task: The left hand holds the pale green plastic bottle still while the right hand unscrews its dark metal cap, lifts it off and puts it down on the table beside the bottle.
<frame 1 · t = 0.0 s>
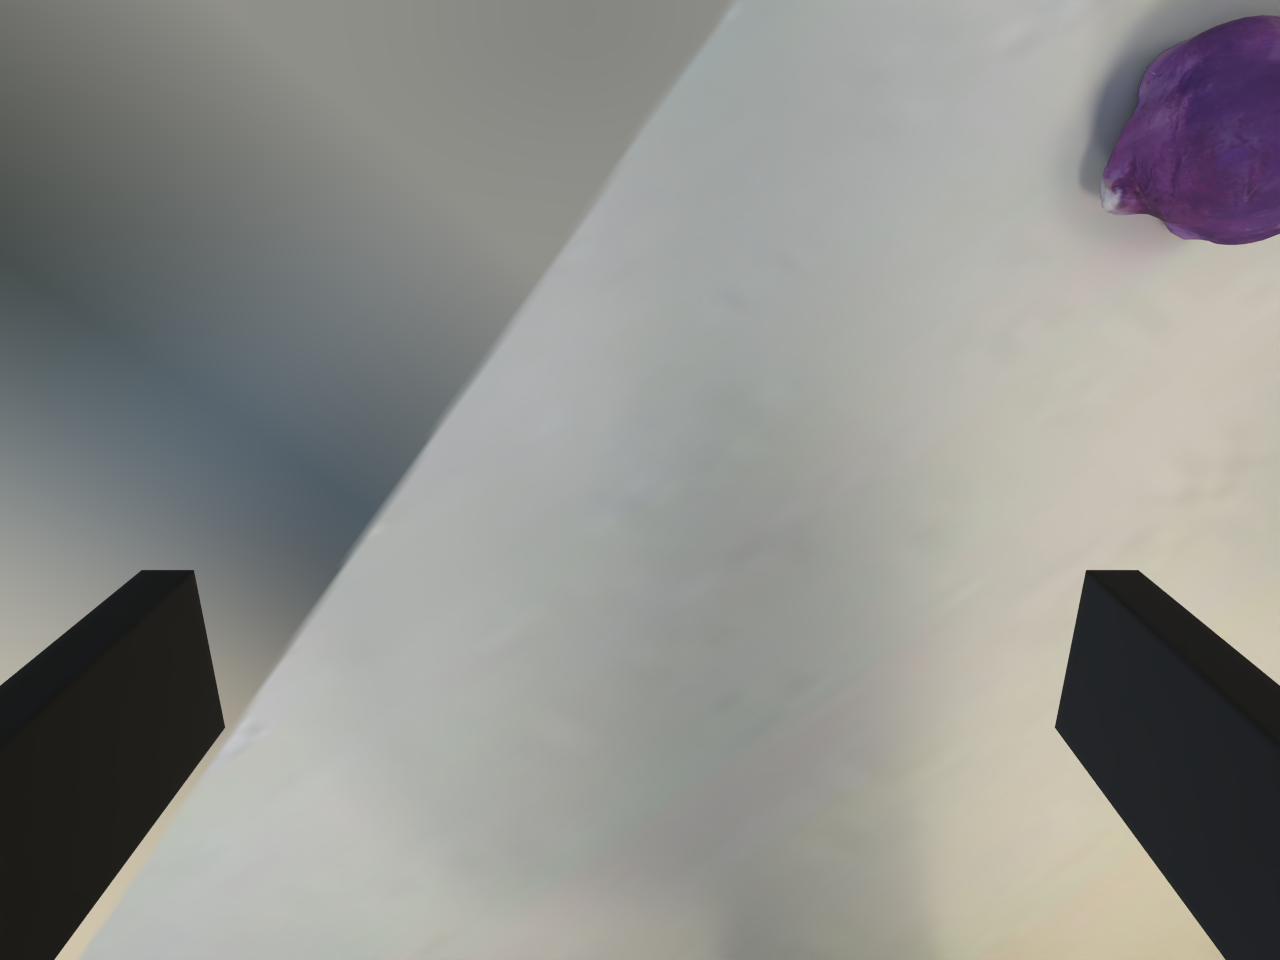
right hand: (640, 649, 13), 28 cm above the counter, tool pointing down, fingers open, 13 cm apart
figurine: (1219, 113, 36), on the counter
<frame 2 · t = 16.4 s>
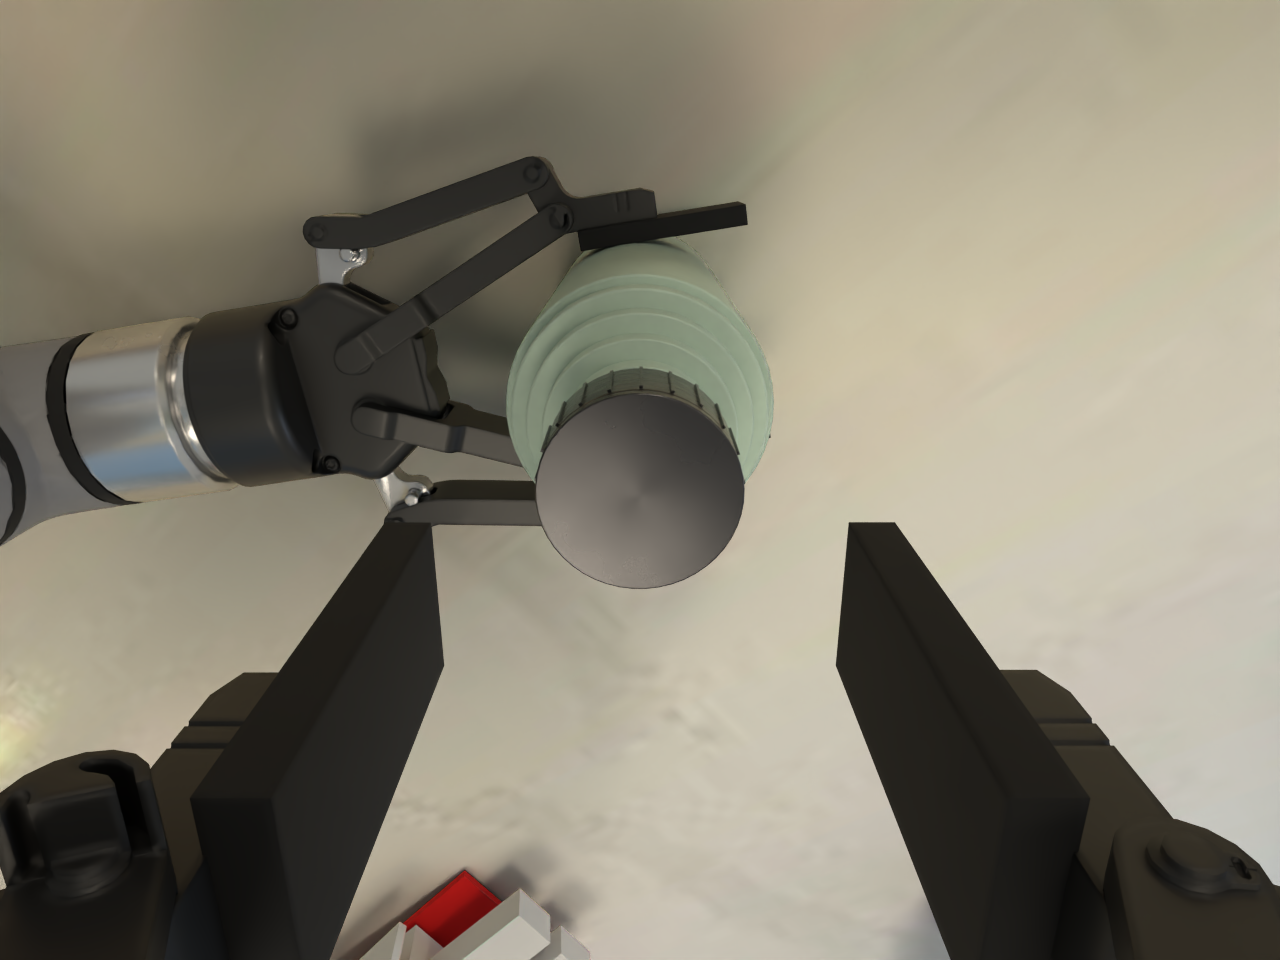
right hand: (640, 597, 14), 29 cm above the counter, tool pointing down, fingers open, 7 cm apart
left hand: (753, 320, 36), fingers closed on bottle, 8 cm apart
bottle: (639, 313, 42), on the counter, touching left hand
cap: (639, 490, 19), point 24 cm above the counter, screwed on, not yet turned
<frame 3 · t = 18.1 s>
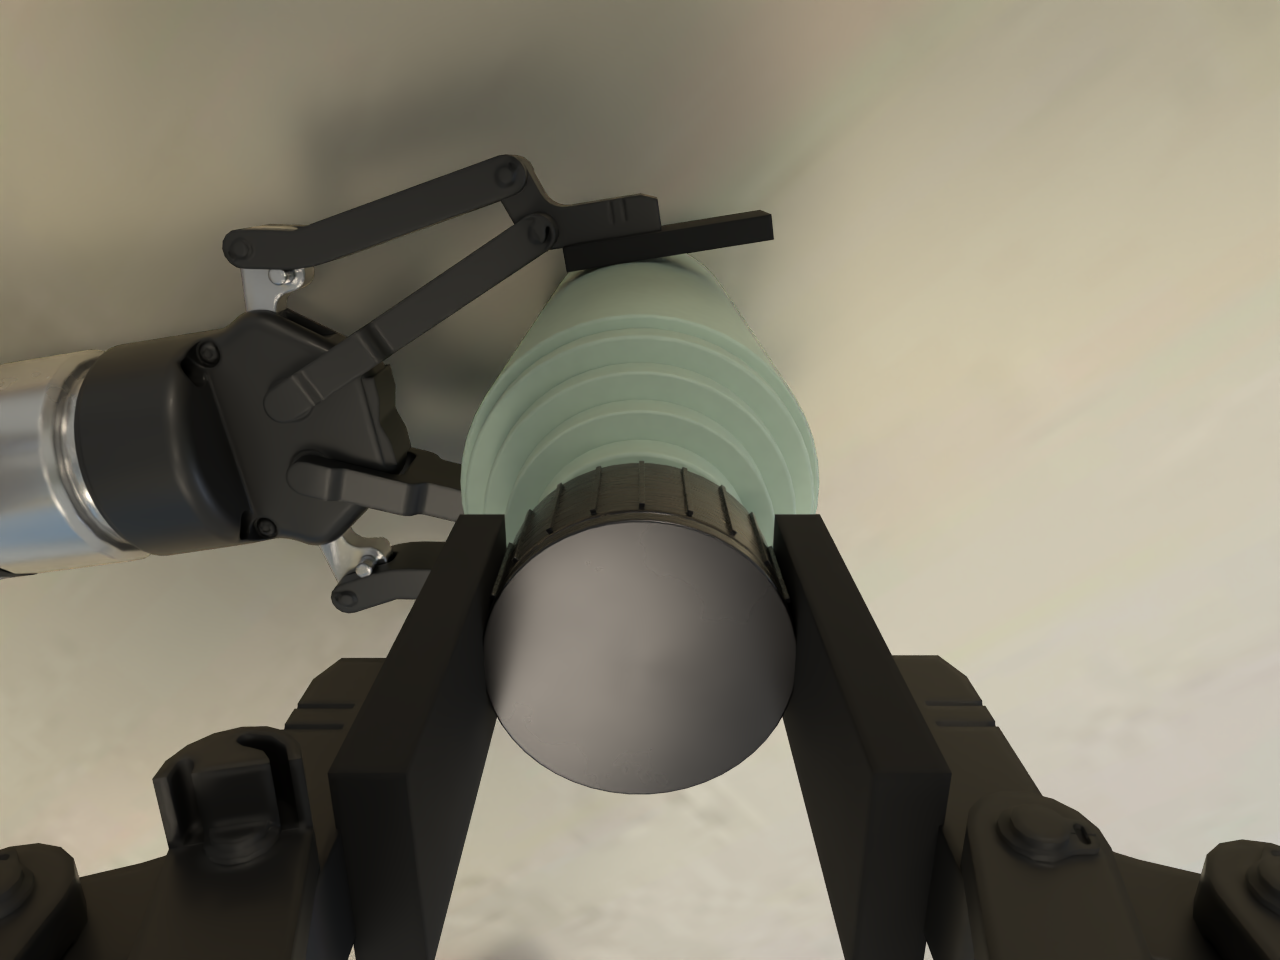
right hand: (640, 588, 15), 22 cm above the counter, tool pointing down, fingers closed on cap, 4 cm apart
left hand: (779, 355, 29), fingers closed on bottle, 8 cm apart
bottle: (639, 340, 35), on the counter, touching left hand
cap: (639, 655, 13), point 24 cm above the counter, screwed on, not yet turned, touching right hand
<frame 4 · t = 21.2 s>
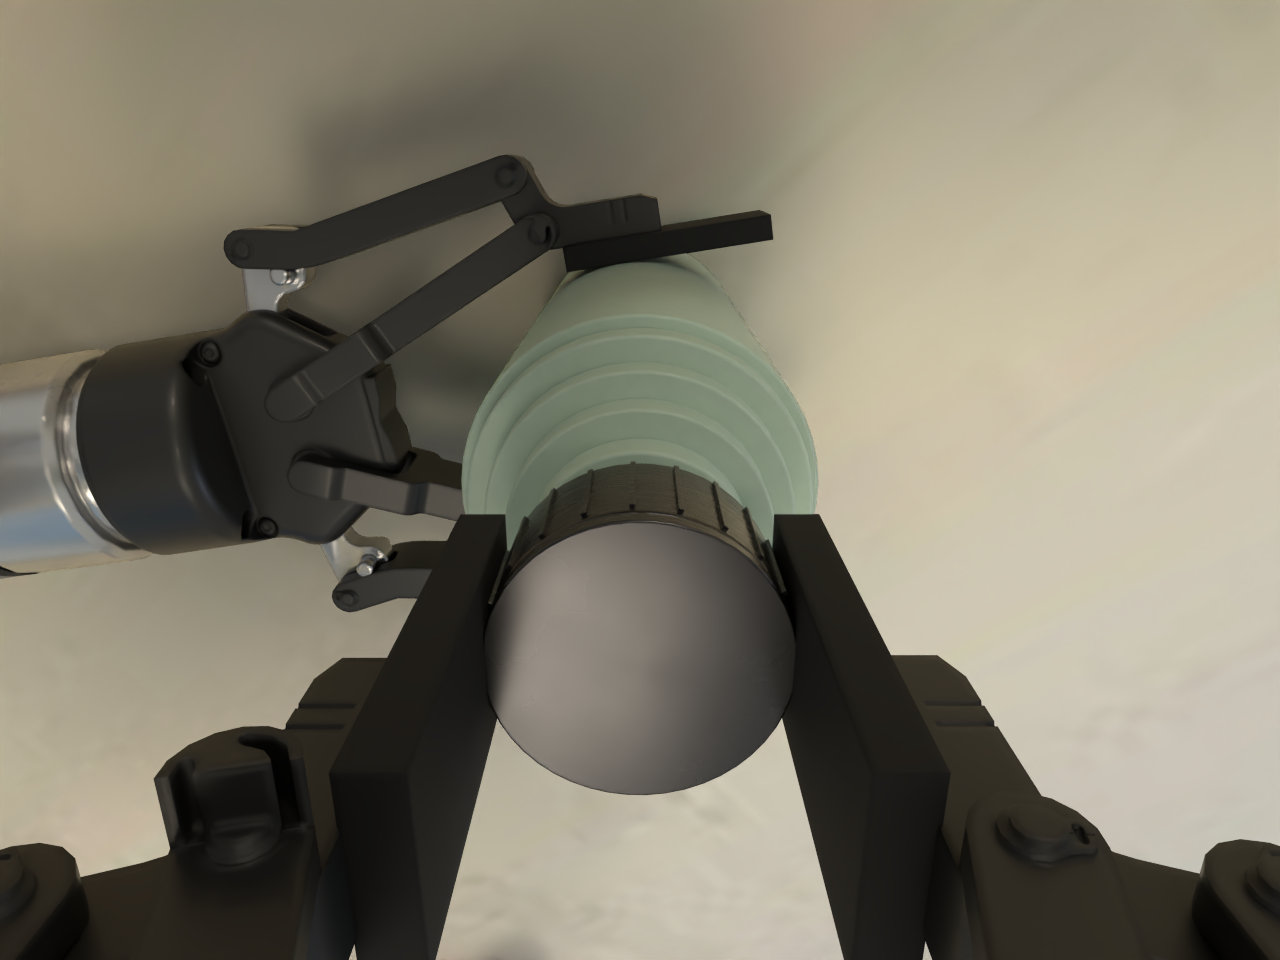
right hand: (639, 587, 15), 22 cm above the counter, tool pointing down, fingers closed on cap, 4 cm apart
left hand: (778, 354, 29), fingers closed on bottle, 8 cm apart
bottle: (639, 340, 35), on the counter, touching left hand
cap: (639, 656, 13), point 24 cm above the counter, turned 89° so far, risen 0.1 cm, still on its thread, touching right hand
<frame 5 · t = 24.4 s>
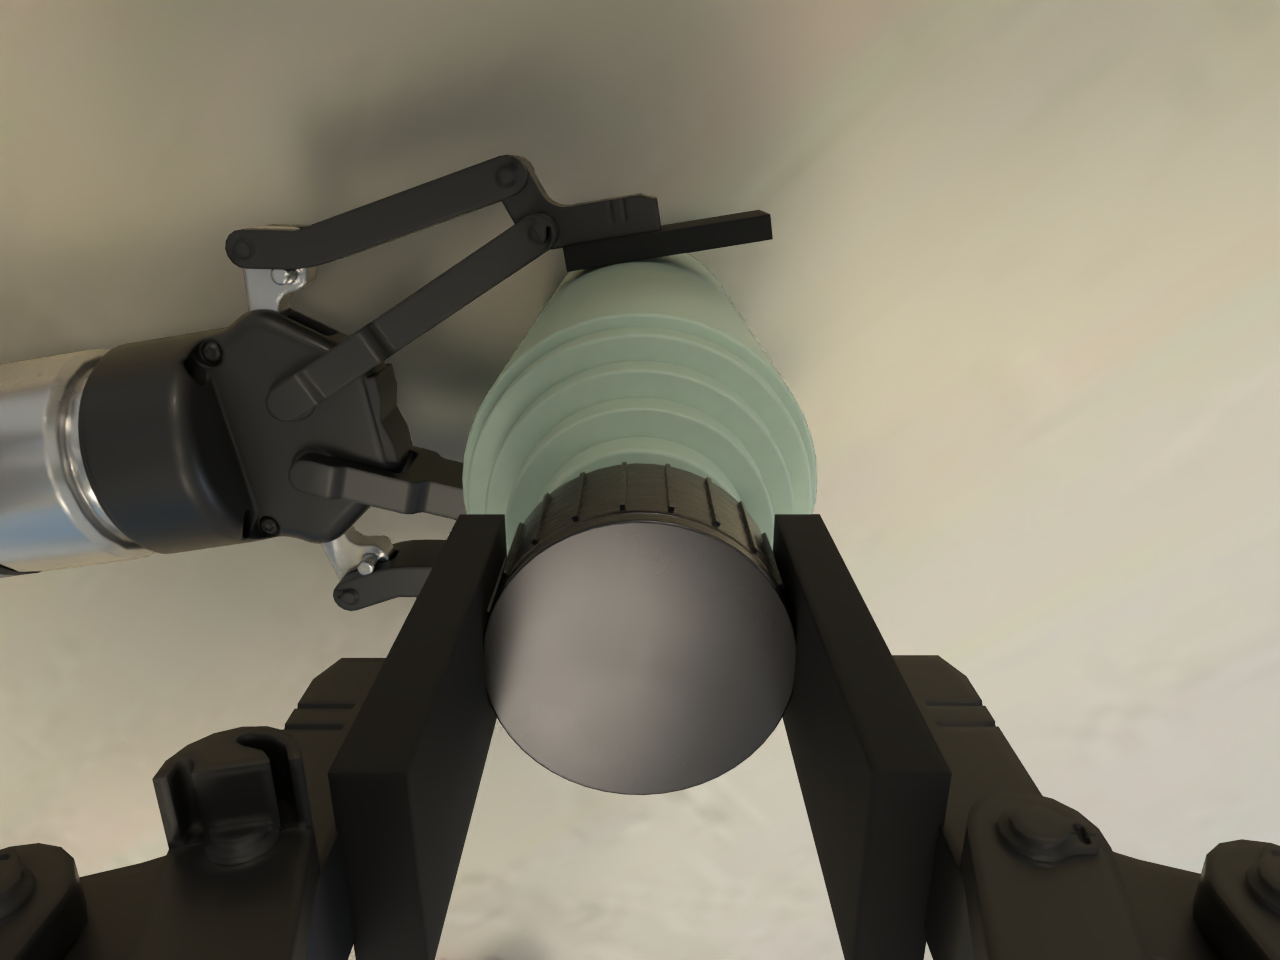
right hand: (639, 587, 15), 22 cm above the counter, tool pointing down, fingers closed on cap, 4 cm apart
left hand: (777, 354, 29), fingers closed on bottle, 8 cm apart
bottle: (639, 340, 36), on the counter, touching left hand
cap: (639, 655, 13), point 24 cm above the counter, turned 178° so far, risen 0.2 cm, still on its thread, touching right hand
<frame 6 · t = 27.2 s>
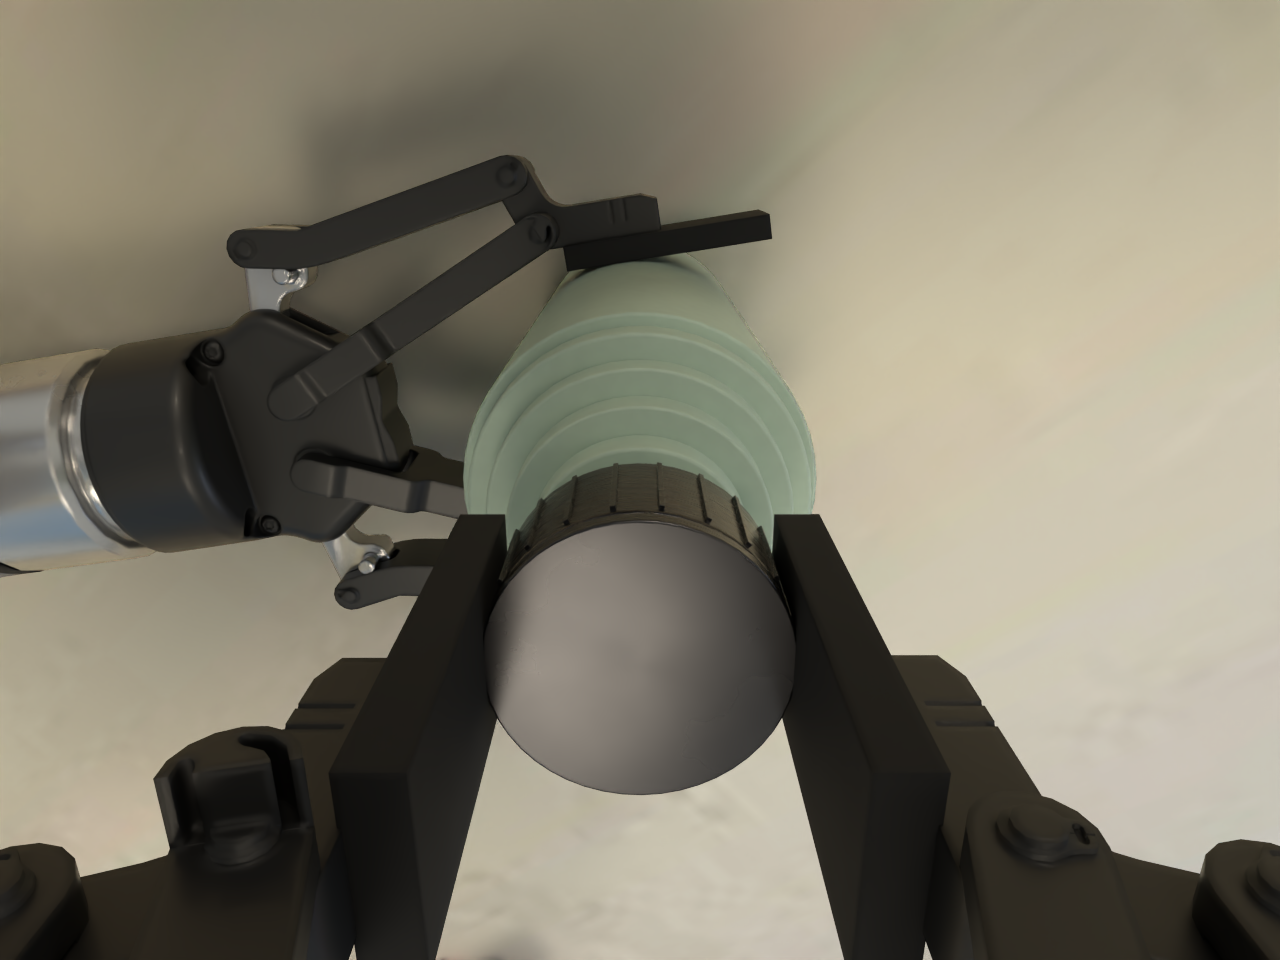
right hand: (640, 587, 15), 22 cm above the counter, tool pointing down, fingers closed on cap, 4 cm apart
left hand: (777, 353, 30), fingers closed on bottle, 8 cm apart
bottle: (639, 339, 36), on the counter, touching left hand
cap: (639, 655, 13), point 24 cm above the counter, turned 267° so far, risen 0.3 cm, still on its thread, touching right hand
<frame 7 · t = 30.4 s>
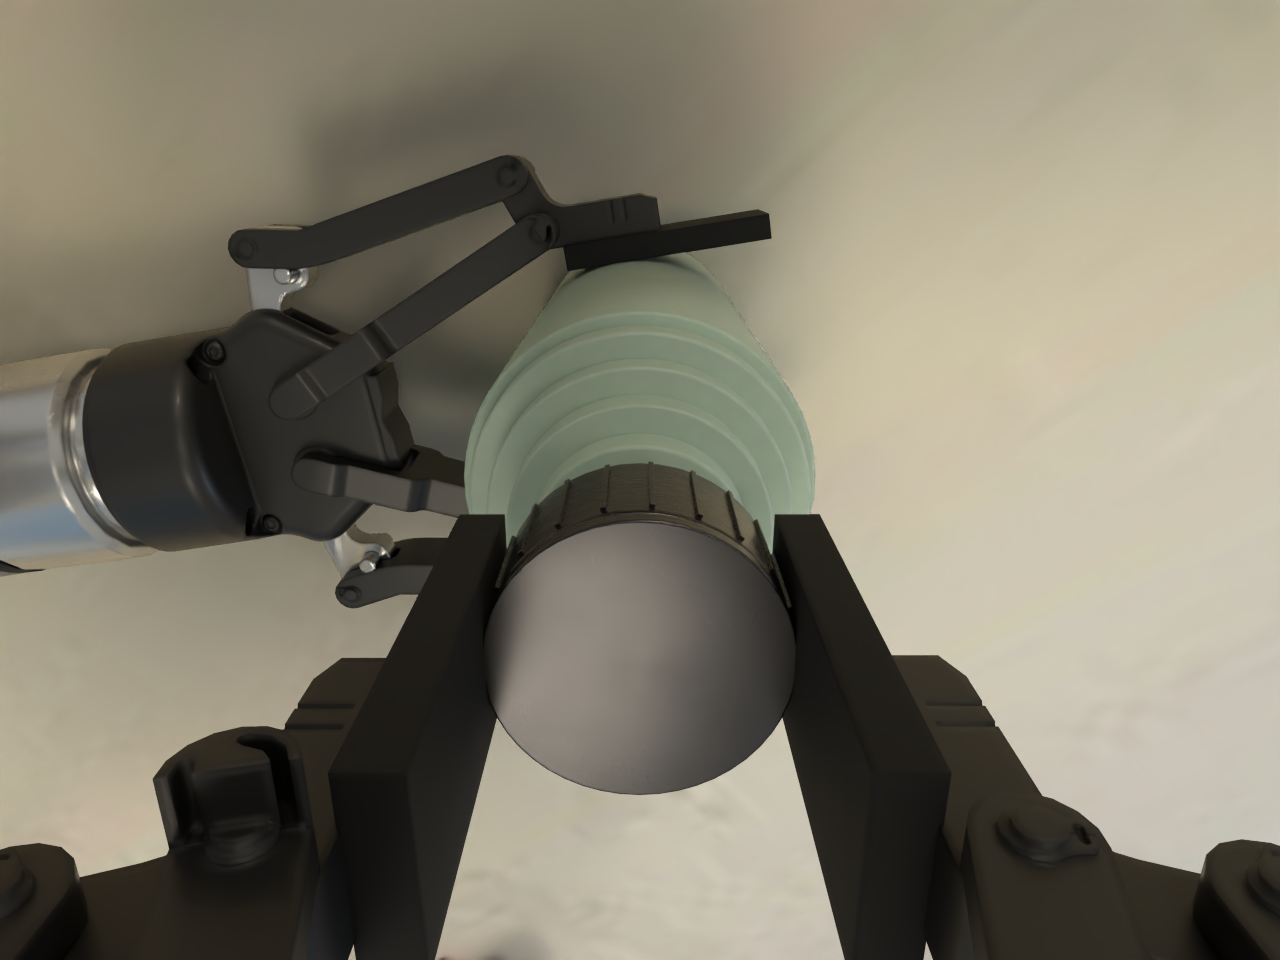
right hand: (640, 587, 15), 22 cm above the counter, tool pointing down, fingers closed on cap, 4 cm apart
left hand: (776, 352, 30), fingers closed on bottle, 8 cm apart
bottle: (639, 339, 36), on the counter, touching left hand
cap: (639, 655, 13), point 25 cm above the counter, turned 356° so far, risen 0.4 cm, still on its thread, touching right hand
when the right hand's fingers open (1 cm above the counter, at t = 40.2 s): cap stays where it is, point 2 cm above the counter.
when the left hand's fingers open (6 cm above the counter, at t = 41.5 s): bottle stays where it is, on the counter.
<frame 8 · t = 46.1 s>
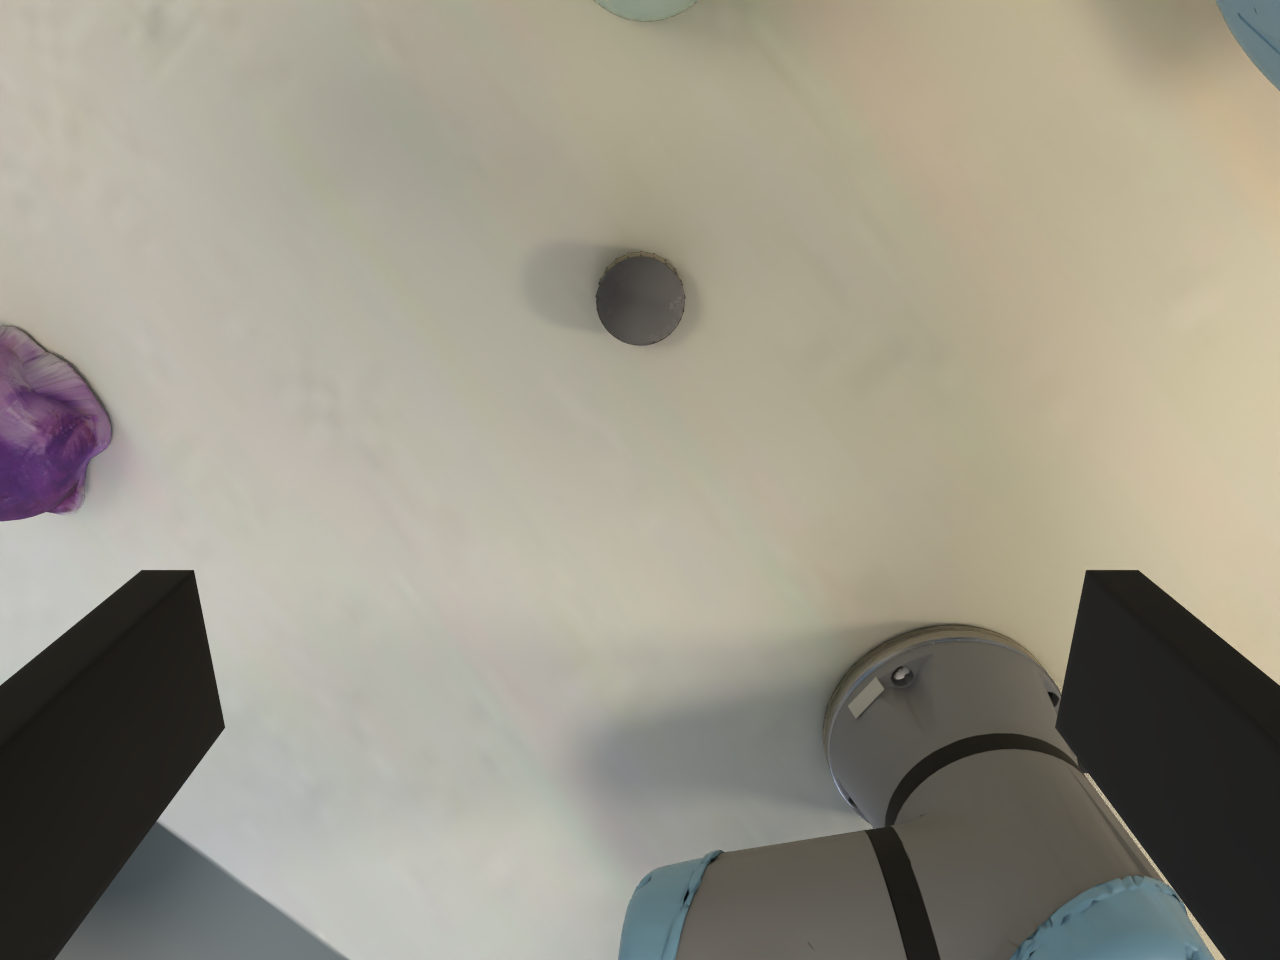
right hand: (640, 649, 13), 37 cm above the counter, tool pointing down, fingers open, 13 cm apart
cap: (640, 301, 45), point 2 cm above the counter, off its thread
figurine: (29, 405, 50), on the counter
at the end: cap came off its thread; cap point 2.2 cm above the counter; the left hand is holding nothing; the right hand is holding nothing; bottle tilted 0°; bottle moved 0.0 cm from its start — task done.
